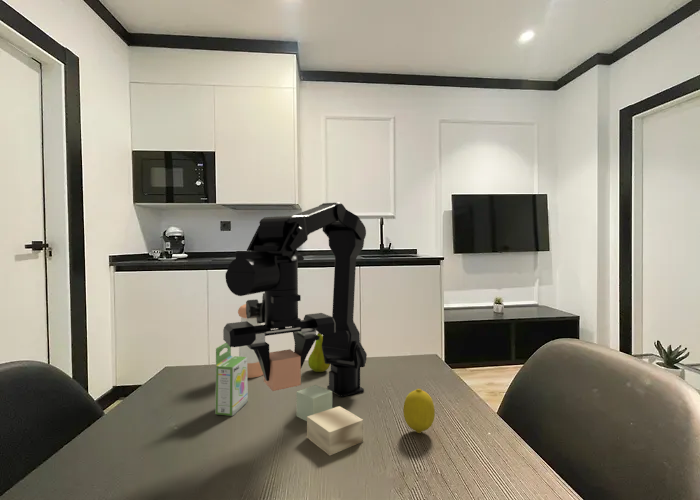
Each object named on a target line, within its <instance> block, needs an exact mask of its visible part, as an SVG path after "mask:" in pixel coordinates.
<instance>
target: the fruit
mask: <svg viewBox="0 0 700 500" xmlns="http://www.w3.org/2000/svg"><path fill="white" fill-rule="evenodd" d="M316 335H318V336H320V338H319V340H316V341H315V342H314V343H315V344H314V347H313V350H312V352H311V353H310V355H309V357H308V360H307V361H308V367H309V368H310V369H311V370H312V371H314V372H316V373H323V372H326V371H327V370H328V369H329V368H330V367H331V364H325V360H324V356H323V351H322V341H323V335H321V334H320V333H319V332H318V331H317V333H316Z"/></svg>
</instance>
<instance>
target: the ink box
mask: <svg viewBox="0 0 700 500" xmlns="http://www.w3.org/2000/svg"><path fill="white" fill-rule="evenodd" d="M224 349H226V350H227V351H226V352H224V353H222V354H220V353H221V352H222V351H223V350H224ZM248 390H249V389H248V378H247V357H239V355H238V356H234V355H232V347H230V346H229V345H228V344H227V343H226V342H225V343H223V344H221V345H219V346H218V347H216V348H215V404H214V405H215V406H214V407H215V409H214V410H215V413H214V414H215V415H216V416H217V415H220V416H227V417H233V416H235V415H236V414H237V413H238V412H239V411H240V410H241V409H242V408H243V406H245V405H246V404H247V403H248V399H249V397H248V395H249V394H248Z"/></svg>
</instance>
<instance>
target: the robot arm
mask: <svg viewBox="0 0 700 500" xmlns="http://www.w3.org/2000/svg"><path fill="white" fill-rule="evenodd" d="M258 223H259V225H258V227H257V228H256V231H255V233H254V235H253V237H252V238H251V241H250V242H249V245H248V247H247V249H246V250H236V251H235V259H233V260H232V261H231V262H230V263H229V265H228V267H227V269H226V272H225V283H226V285H227V288H228V290H230V293H232V294H234V295H235V296H238V297H243V296H249V295H255V294H260V293H262V297H261V299H262V301H261V302H259V300H258V299H248V300H246V301H245V304H246V316H247V318H248V319H249V318H257V323H262V325H258V326H253V325H252V324H250V323H249V322H247V321H245V322H241V321H238V322H227V323H226V324H225V326H224V327H223V329H222V330H223V331H222V333H223V334H222V335H223V341H224V342H225V343H227V344H228V345H229V346H230V347H231V348H239V347H240V346H248V347H249V348H250V349H252V350H254V352H255V354H256V356H257V358H258V361H259V363H260V366H261V369H262V372H263V374H264V375H263V378H264V377H265V380H266V381H269V376H270V354H269V353H270V344H269V343H268V342H266V336H267V337H268V336H274V335H280V334H289V333H292V336H293V340H294V341H293V342H294V350H293V352H295V353H296V354H298V355H299V356H301V369H302V368H303V365H304V363H305V361H306V359H307V356H308V354H309V352H310V351H311V349H312V347H313V345H315V344H314V343H316V340H319V338H320V336H318V335H317V333H318V332H319V333H320V334H321V335H322V336H323V341H322V351H323V356H324V360H325V364H330V370H329V371H328V385H327V388H326V389H328V390H331V391H332V393H334V394H335V395H337V396H338V397H345V396H350V395H353V394H359V393H363V392H364V391H365V388H363V387H361V368H364V367H365V366H366V364H367V363H366V362H367V355H368V354H367V352H366V350H365V348H364V346H363V345H362V343H361V337H360V334H361V333H360V331H359V329H358V328H357V325H356V323H355V322H354V310H355V290H356V289H355V288H356V286H355V285H356V270H357V269H356V266H357V265H356V264H357V257H358V256H359V254H360V253H361V252H362V250H363V248H364V244H365V239H366V236H367V229H366V226H365V225H364V223H363V221H362V220H361V219H360V217H359V216H358V215H356V214H355V213H353V212H351V211H350V210H348V209H347V208H346V207H345V206H344V204H343V203H341V202H325V203H324V202H323V203H322V204H320V205H317V206H315V207H313V208H310V209H307V210H304V211H301V212H298V213H296V214H293V215H282V216H281V215H280V216H265V217H263V218H262V219H260V220H259V222H258ZM320 229H321V230H322V232H323V233H324V234H325V235H326V237H327V238H328V246H329V248H330V251H331V252H332V254H333V256H334V273H333V274H334V275H333V291H332V293H333V295H332V315H329V314H325V313H322V312H318V313H317V312H316V313H309V314H304V317H303V319H301V318H299V302H301V301H302V300H301V298H302V297H301V294H299V286H298V284H299V283H298V281H299V278H298V275H299V274H298V271H299V269H298V268H299V267H298V265H299V264H298V263H299V262H303V261H304V260H305V257H304V256H303V254H301V253H300V252H299V251H298V248H300V247H301V246H302V245H303V244H305V243H306V242H307V241H308V236H309V235H310V234H313V233H314V232H316V231H319V230H320Z"/></svg>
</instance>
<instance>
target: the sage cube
mask: <svg viewBox="0 0 700 500" xmlns="http://www.w3.org/2000/svg"><path fill="white" fill-rule="evenodd" d="M332 408H333V392H332V391H331V390H329V389H328V388H325V387H323V386H320V385H318V384H313V385H310V386H308V387H306V388H302V389H300V390H297V391H296V417H297V418H299V419H301V420H303V421H306V422H307V416H310V415H313V414H317V413H320V412H323V411H326V410H329V409H332Z"/></svg>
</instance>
